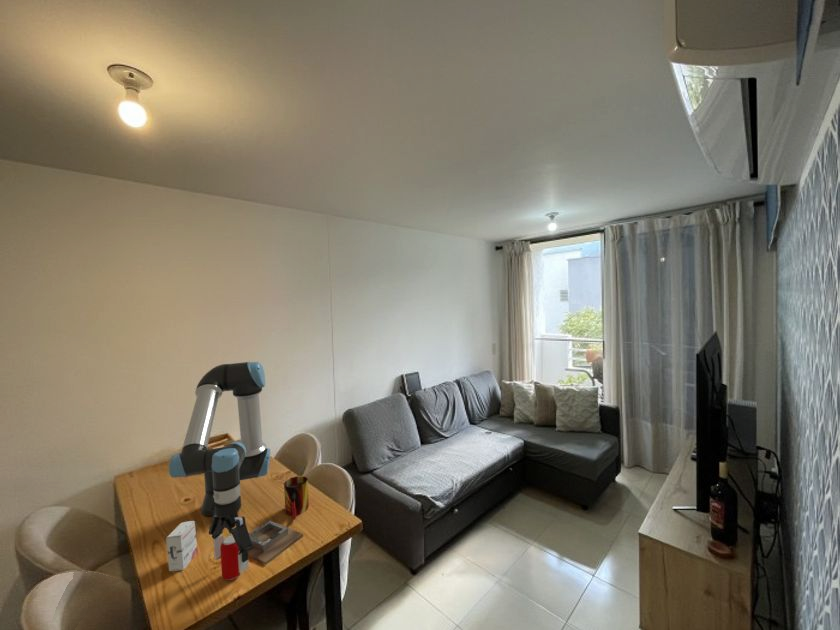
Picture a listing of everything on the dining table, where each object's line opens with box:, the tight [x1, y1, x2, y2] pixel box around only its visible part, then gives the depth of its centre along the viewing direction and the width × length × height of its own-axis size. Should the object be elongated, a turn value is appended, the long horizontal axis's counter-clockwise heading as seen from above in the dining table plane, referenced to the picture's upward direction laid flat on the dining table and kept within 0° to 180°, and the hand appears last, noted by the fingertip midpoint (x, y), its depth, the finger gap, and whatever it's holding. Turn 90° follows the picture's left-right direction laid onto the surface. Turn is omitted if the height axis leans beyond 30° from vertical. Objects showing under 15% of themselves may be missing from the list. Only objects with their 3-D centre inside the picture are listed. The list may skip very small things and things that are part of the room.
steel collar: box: [249, 520, 289, 552], centre depth 125 cm, size 10×10×3 cm
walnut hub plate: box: [248, 519, 304, 566], centre depth 125 cm, size 20×16×1 cm
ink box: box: [165, 520, 198, 572], centre depth 117 cm, size 9×5×12 cm, turn 5°
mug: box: [283, 475, 310, 521], centre depth 144 cm, size 10×14×12 cm
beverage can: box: [220, 534, 241, 581], centre depth 110 cm, size 6×6×12 cm
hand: (231, 563), depth 109 cm, fingers open, 13 cm apart
